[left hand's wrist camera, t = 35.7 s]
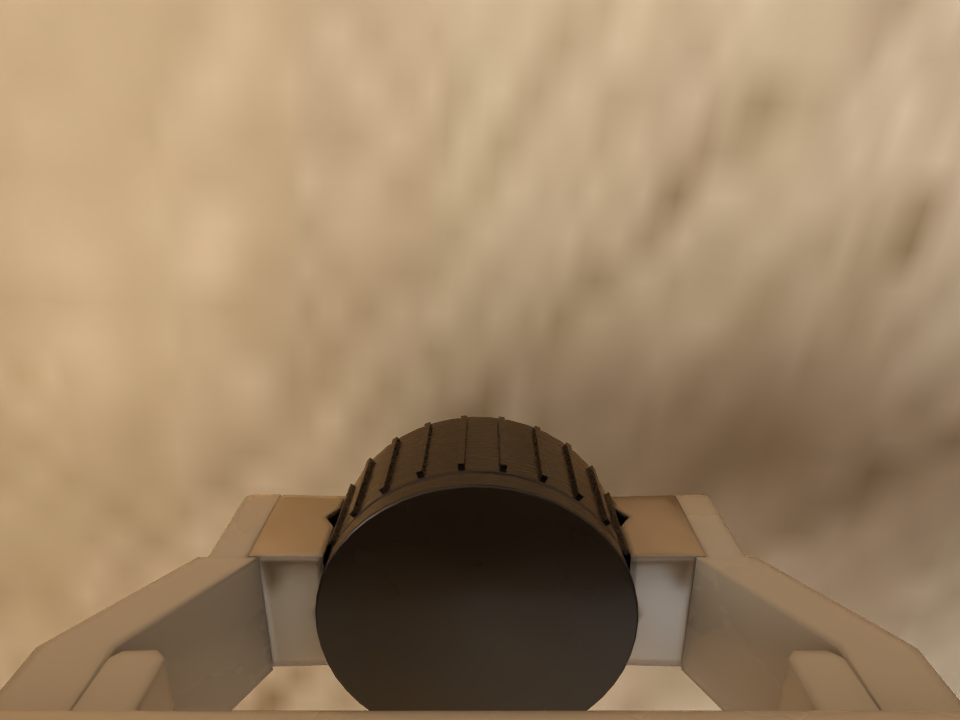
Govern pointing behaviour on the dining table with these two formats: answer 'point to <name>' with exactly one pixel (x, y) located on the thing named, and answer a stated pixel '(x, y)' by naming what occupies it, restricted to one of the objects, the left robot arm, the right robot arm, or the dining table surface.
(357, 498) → the cap
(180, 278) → the dining table surface
